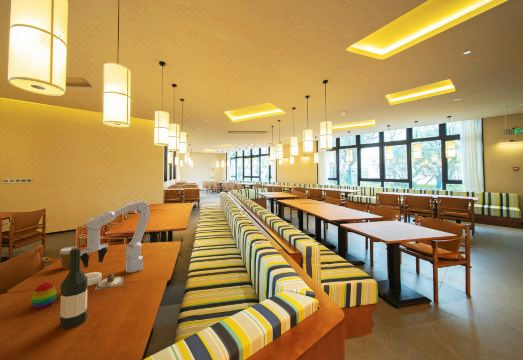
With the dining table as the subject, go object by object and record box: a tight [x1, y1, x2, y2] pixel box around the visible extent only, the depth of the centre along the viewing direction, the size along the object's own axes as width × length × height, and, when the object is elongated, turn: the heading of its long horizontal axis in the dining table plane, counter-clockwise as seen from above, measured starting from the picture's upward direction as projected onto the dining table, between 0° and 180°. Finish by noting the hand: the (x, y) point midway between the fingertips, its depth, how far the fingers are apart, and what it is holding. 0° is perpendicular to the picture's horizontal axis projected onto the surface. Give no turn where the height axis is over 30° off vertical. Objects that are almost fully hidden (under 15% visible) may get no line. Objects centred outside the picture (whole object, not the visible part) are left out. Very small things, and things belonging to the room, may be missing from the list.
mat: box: [94, 275, 125, 291], centre depth 121 cm, size 12×12×1 cm
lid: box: [98, 273, 122, 289], centre depth 121 cm, size 11×11×4 cm
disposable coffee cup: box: [58, 246, 76, 270], centre depth 142 cm, size 10×10×12 cm
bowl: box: [84, 271, 103, 287], centre depth 122 cm, size 10×10×4 cm
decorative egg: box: [31, 282, 58, 309], centre depth 101 cm, size 8×8×10 cm
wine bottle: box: [59, 246, 88, 330], centre depth 89 cm, size 8×8×30 cm
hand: (93, 264), depth 123 cm, fingers open, 7 cm apart
